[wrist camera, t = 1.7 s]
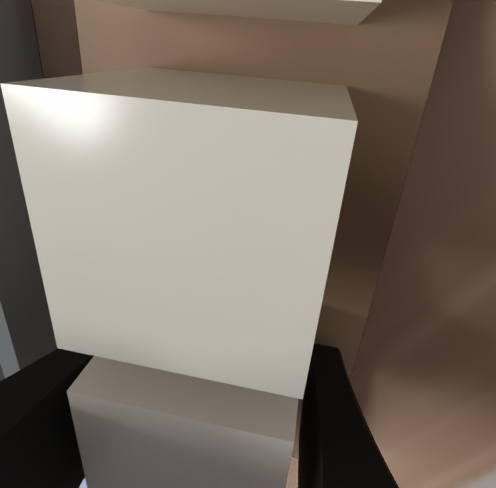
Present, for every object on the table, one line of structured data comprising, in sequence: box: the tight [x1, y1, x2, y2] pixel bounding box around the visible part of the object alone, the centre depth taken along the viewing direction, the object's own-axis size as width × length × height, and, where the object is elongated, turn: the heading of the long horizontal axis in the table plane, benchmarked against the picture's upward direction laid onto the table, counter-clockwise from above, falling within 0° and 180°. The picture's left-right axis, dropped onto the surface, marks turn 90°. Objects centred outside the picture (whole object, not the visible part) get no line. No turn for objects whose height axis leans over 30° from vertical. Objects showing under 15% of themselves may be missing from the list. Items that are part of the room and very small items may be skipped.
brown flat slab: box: [74, 0, 454, 459], centre depth 10 cm, size 16×7×2 cm, turn 176°
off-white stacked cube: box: [0, 67, 358, 399], centre depth 7 cm, size 4×4×4 cm
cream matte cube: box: [67, 356, 298, 488], centre depth 9 cm, size 4×4×4 cm
